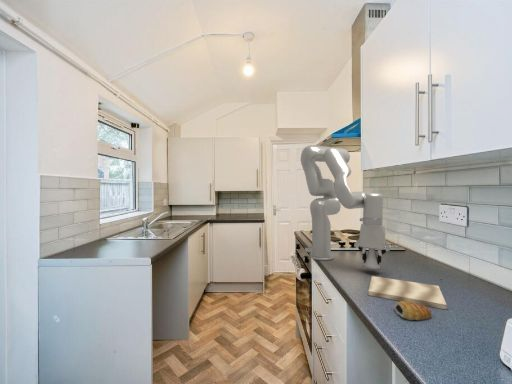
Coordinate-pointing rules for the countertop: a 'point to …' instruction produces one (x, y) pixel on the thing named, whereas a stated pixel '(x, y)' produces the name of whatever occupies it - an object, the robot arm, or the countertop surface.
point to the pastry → (412, 310)
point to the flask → (371, 260)
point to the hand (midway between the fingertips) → (371, 262)
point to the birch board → (407, 292)
